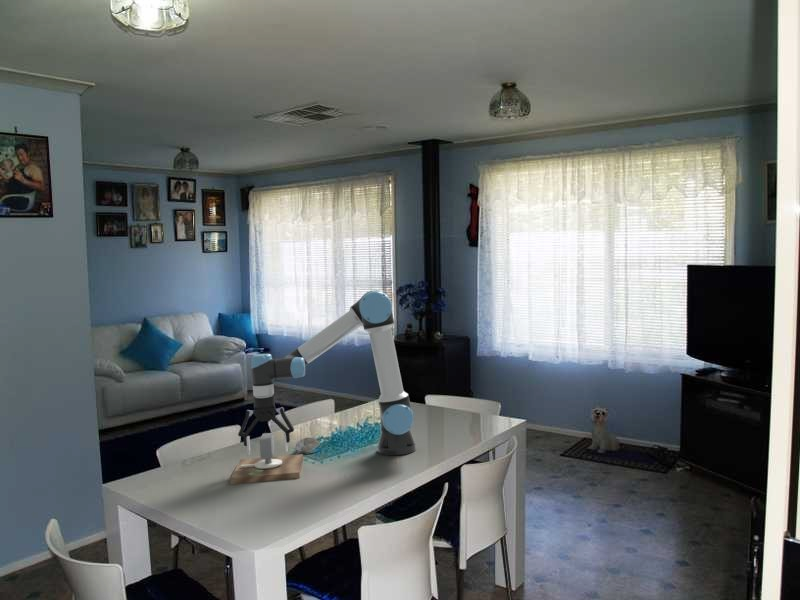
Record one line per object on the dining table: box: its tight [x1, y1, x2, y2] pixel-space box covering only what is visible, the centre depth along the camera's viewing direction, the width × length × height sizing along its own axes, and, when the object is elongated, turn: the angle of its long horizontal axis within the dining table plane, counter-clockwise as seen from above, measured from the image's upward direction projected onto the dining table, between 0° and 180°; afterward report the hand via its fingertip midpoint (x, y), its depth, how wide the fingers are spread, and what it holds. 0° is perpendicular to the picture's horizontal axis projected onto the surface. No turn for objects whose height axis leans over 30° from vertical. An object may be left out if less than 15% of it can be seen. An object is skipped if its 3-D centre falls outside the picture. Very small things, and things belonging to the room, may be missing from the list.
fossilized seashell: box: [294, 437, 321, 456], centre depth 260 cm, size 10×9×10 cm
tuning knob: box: [241, 432, 282, 469], centre depth 235 cm, size 15×10×11 cm, turn 96°
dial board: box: [229, 453, 304, 485], centre depth 235 cm, size 24×24×2 cm
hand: (267, 452), depth 235 cm, fingers open, 13 cm apart
